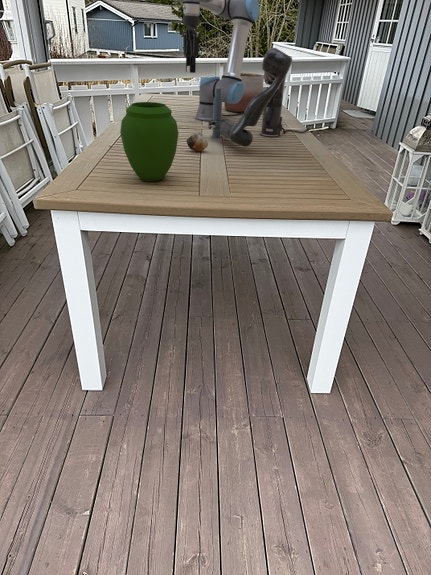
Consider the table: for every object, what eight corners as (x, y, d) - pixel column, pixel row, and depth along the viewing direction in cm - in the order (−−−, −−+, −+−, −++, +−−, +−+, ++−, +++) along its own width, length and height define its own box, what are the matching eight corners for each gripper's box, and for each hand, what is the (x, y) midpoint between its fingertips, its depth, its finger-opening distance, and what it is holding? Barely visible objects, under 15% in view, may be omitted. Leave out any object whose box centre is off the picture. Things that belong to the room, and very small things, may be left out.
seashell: (207, 149, 185) (207, 131, 181) (208, 152, 180) (209, 134, 176) (186, 149, 184) (186, 130, 179) (187, 152, 179) (187, 133, 175)
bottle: (212, 137, 207) (214, 88, 195) (212, 136, 210) (214, 87, 198) (220, 138, 207) (222, 88, 195) (220, 136, 210) (222, 87, 198)
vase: (131, 189, 135) (125, 110, 122) (118, 172, 150) (112, 100, 137) (186, 184, 142) (187, 109, 129) (169, 168, 157) (167, 99, 144)
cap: (194, 72, 201) (194, 66, 199) (187, 72, 200) (187, 66, 199) (194, 71, 204) (194, 66, 203) (186, 71, 203) (186, 65, 202)
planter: (265, 114, 273) (268, 77, 261) (227, 113, 269) (230, 75, 257) (255, 107, 294) (258, 73, 282) (221, 107, 290) (222, 72, 278)
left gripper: (176, 14, 194) (176, 70, 207) (192, 14, 182) (191, 73, 194) (190, 16, 197) (189, 70, 210) (207, 15, 185) (205, 73, 198)
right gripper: (241, 120, 194) (228, 113, 207) (213, 120, 189) (201, 114, 203) (240, 136, 198) (227, 129, 211) (212, 137, 193) (201, 130, 207)
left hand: (190, 72), depth 202 cm, fingers closed on cap, 4 cm apart
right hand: (215, 122), depth 207 cm, fingers closed on bottle, 4 cm apart
